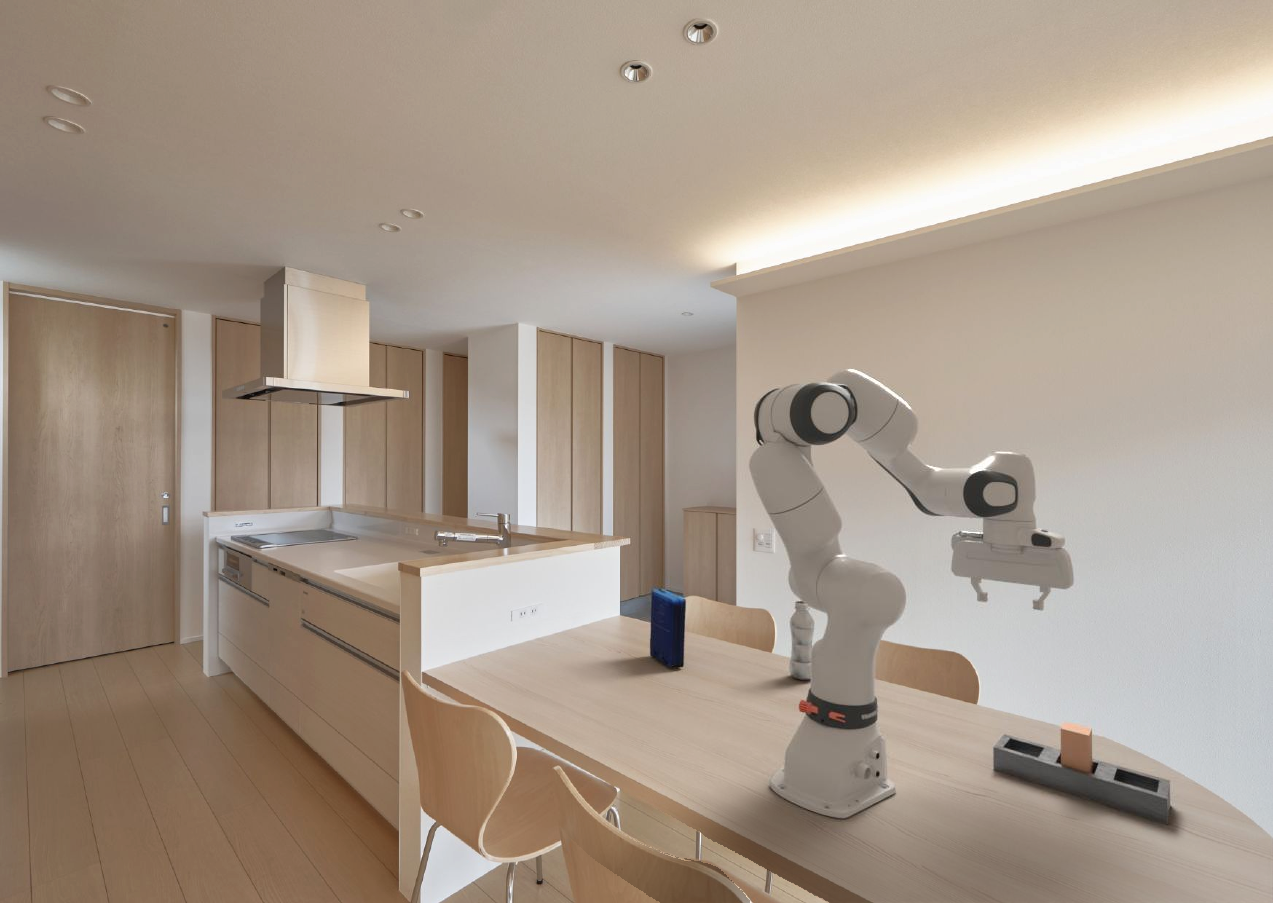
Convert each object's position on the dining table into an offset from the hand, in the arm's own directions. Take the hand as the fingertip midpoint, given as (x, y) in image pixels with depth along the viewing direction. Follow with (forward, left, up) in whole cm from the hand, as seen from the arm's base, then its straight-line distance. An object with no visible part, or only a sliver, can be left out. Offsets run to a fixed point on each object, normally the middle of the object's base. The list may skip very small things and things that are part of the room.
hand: (1009, 605), depth 115 cm
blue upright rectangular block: (-7, +83, -29) cm, 88 cm away
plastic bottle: (+10, +50, -29) cm, 59 cm away
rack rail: (-4, -11, -29) cm, 31 cm away
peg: (-4, -11, -29) cm, 31 cm away
